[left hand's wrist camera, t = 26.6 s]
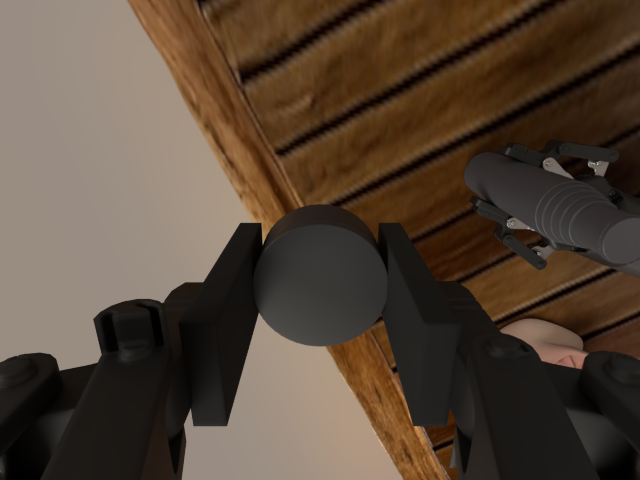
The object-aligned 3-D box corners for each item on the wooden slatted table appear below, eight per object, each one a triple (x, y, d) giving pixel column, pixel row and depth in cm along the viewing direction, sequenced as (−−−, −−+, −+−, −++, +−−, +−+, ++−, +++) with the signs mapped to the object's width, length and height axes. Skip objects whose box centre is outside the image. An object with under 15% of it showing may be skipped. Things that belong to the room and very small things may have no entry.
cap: (402, 249, 14) (417, 276, 12) (331, 330, 15) (333, 367, 13) (307, 179, 13) (305, 195, 11) (239, 271, 14) (225, 301, 12)
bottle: (471, 200, 47) (597, 287, 25) (458, 163, 45) (580, 223, 24) (511, 182, 46) (675, 258, 25) (499, 144, 44) (663, 189, 23)
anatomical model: (476, 380, 51) (536, 316, 47) (465, 361, 55) (521, 300, 51) (551, 421, 53) (613, 363, 50) (536, 400, 57) (593, 344, 54)
